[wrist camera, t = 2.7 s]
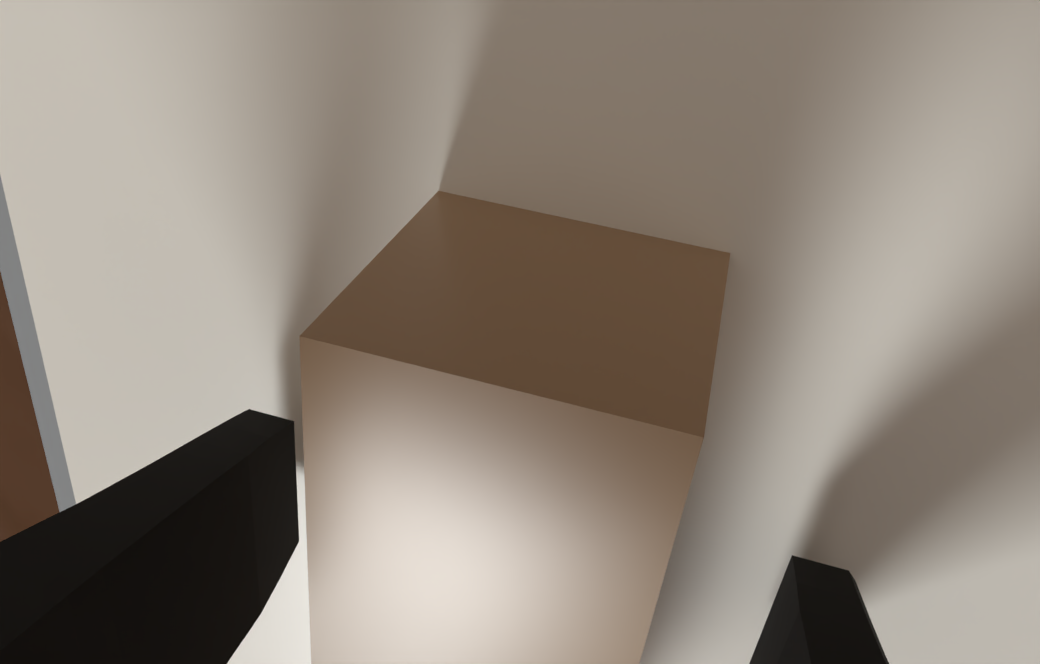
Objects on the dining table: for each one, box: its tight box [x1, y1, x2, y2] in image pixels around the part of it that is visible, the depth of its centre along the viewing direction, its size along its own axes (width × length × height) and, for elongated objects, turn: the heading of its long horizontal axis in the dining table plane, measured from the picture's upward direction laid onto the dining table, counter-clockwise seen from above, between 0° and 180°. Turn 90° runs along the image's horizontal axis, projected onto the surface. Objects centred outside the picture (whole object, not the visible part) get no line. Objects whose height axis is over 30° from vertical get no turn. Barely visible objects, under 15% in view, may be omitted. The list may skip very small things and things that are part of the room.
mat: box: [0, 176, 76, 512], centre depth 12 cm, size 16×16×1 cm
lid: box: [0, 0, 1040, 664], centre depth 10 cm, size 14×14×4 cm
